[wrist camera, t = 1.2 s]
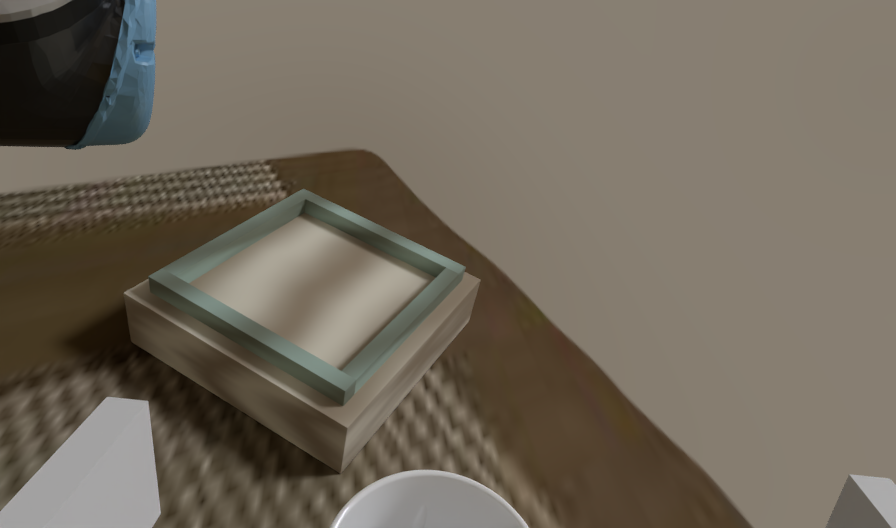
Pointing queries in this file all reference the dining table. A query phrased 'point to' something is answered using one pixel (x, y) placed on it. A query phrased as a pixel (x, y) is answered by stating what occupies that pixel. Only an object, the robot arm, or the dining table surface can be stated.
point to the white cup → (427, 504)
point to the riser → (305, 321)
